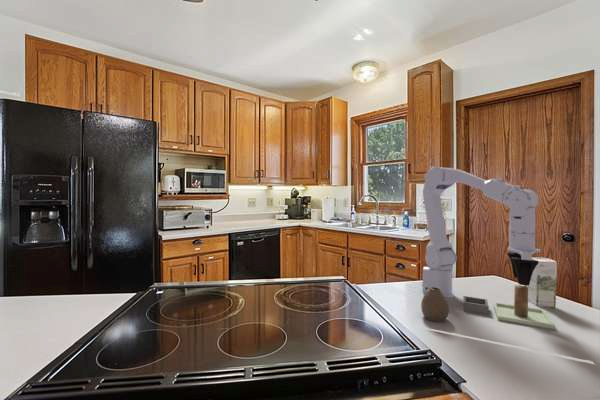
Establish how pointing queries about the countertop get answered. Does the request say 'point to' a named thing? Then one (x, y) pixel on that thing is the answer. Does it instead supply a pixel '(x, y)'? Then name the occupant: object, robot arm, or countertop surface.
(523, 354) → the countertop surface
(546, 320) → the tray
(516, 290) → the dowel
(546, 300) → the syrup box
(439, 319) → the vase
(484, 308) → the square holder
